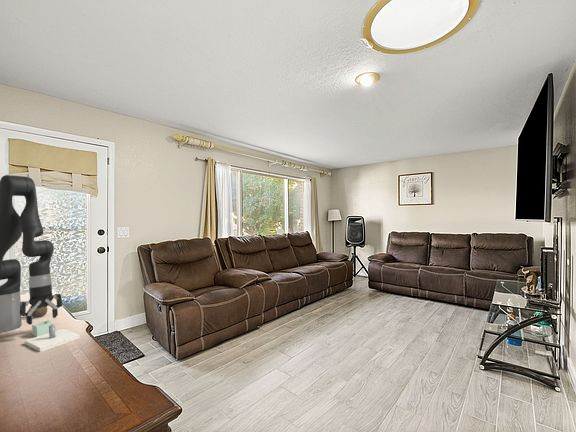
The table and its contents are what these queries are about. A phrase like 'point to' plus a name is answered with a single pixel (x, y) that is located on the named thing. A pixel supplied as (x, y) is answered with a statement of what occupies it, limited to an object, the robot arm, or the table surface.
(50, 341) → the plate
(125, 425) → the table surface
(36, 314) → the vase
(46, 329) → the collar
